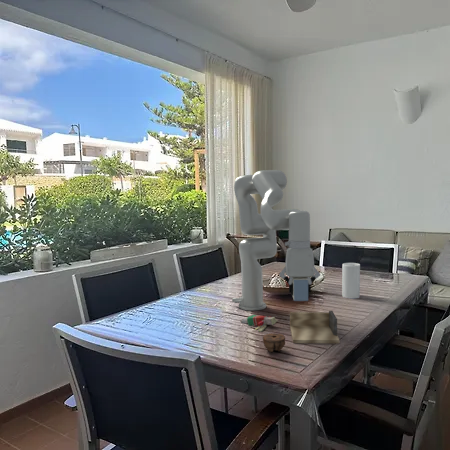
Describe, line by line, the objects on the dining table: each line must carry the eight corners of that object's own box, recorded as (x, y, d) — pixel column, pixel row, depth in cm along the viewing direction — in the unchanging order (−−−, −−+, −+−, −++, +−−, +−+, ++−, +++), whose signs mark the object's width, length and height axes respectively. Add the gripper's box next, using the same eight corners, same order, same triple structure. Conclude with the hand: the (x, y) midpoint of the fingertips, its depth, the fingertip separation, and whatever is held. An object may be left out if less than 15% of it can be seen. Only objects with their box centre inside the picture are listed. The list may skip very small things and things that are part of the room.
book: (294, 300, 151) (293, 280, 150) (292, 294, 160) (291, 274, 159) (308, 300, 150) (308, 279, 149) (305, 294, 159) (305, 274, 158)
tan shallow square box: (293, 343, 150) (293, 323, 149) (289, 327, 166) (289, 309, 165) (339, 343, 148) (339, 323, 148) (331, 327, 164) (331, 309, 164)
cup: (341, 297, 206) (341, 265, 205) (343, 293, 214) (343, 262, 212) (358, 299, 203) (359, 266, 202) (360, 294, 211) (360, 263, 209)
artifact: (259, 353, 141) (259, 339, 141) (266, 345, 148) (265, 331, 148) (282, 356, 138) (282, 341, 138) (287, 348, 145) (287, 334, 145)
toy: (249, 311, 181) (281, 311, 173) (250, 320, 181) (282, 321, 173) (231, 321, 168) (265, 322, 160) (233, 331, 168) (266, 332, 160)
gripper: (276, 246, 150) (276, 297, 152) (325, 246, 149) (325, 297, 150) (275, 244, 158) (275, 292, 159) (321, 243, 156) (322, 291, 158)
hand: (299, 294), depth 155 cm, fingers closed on book, 5 cm apart
